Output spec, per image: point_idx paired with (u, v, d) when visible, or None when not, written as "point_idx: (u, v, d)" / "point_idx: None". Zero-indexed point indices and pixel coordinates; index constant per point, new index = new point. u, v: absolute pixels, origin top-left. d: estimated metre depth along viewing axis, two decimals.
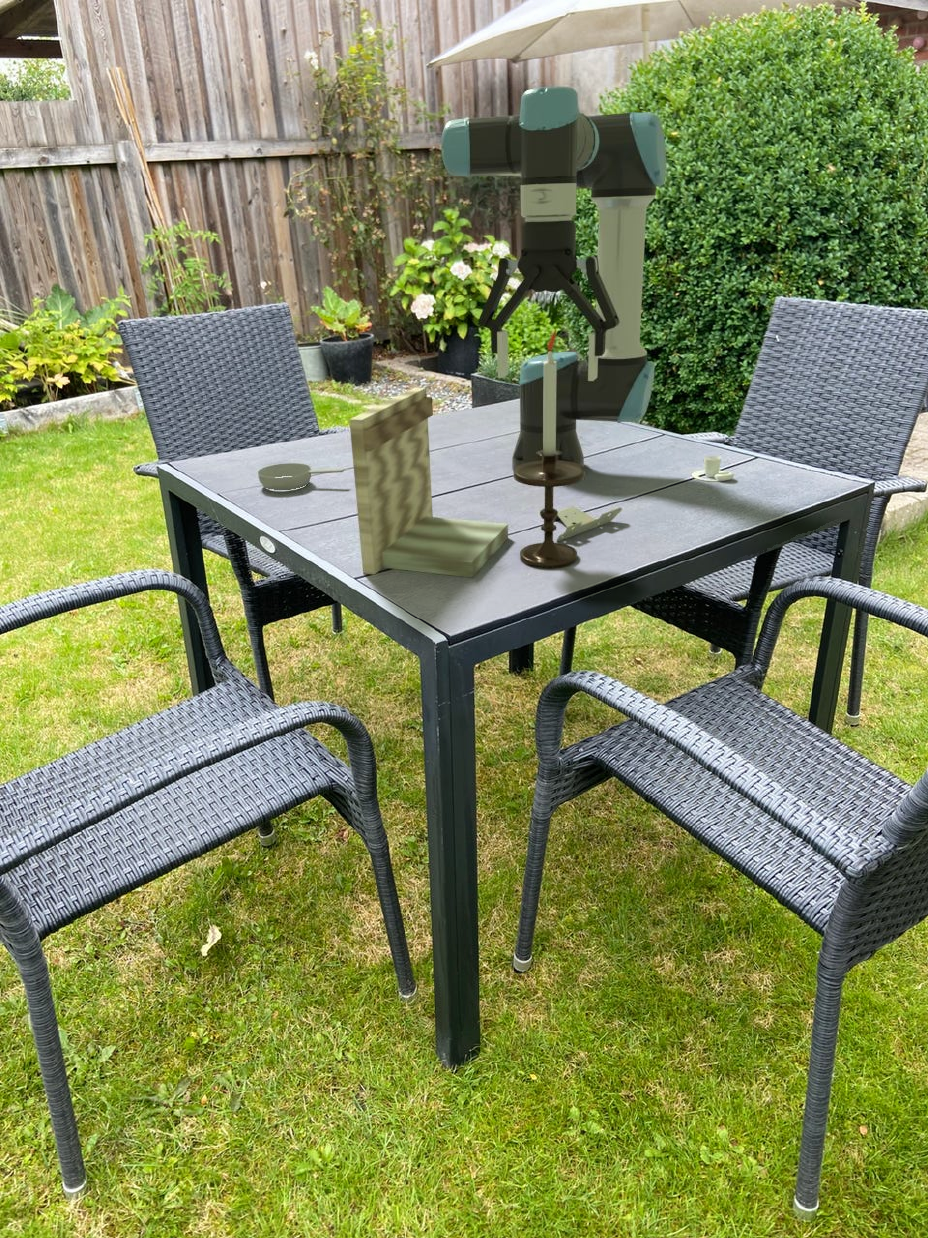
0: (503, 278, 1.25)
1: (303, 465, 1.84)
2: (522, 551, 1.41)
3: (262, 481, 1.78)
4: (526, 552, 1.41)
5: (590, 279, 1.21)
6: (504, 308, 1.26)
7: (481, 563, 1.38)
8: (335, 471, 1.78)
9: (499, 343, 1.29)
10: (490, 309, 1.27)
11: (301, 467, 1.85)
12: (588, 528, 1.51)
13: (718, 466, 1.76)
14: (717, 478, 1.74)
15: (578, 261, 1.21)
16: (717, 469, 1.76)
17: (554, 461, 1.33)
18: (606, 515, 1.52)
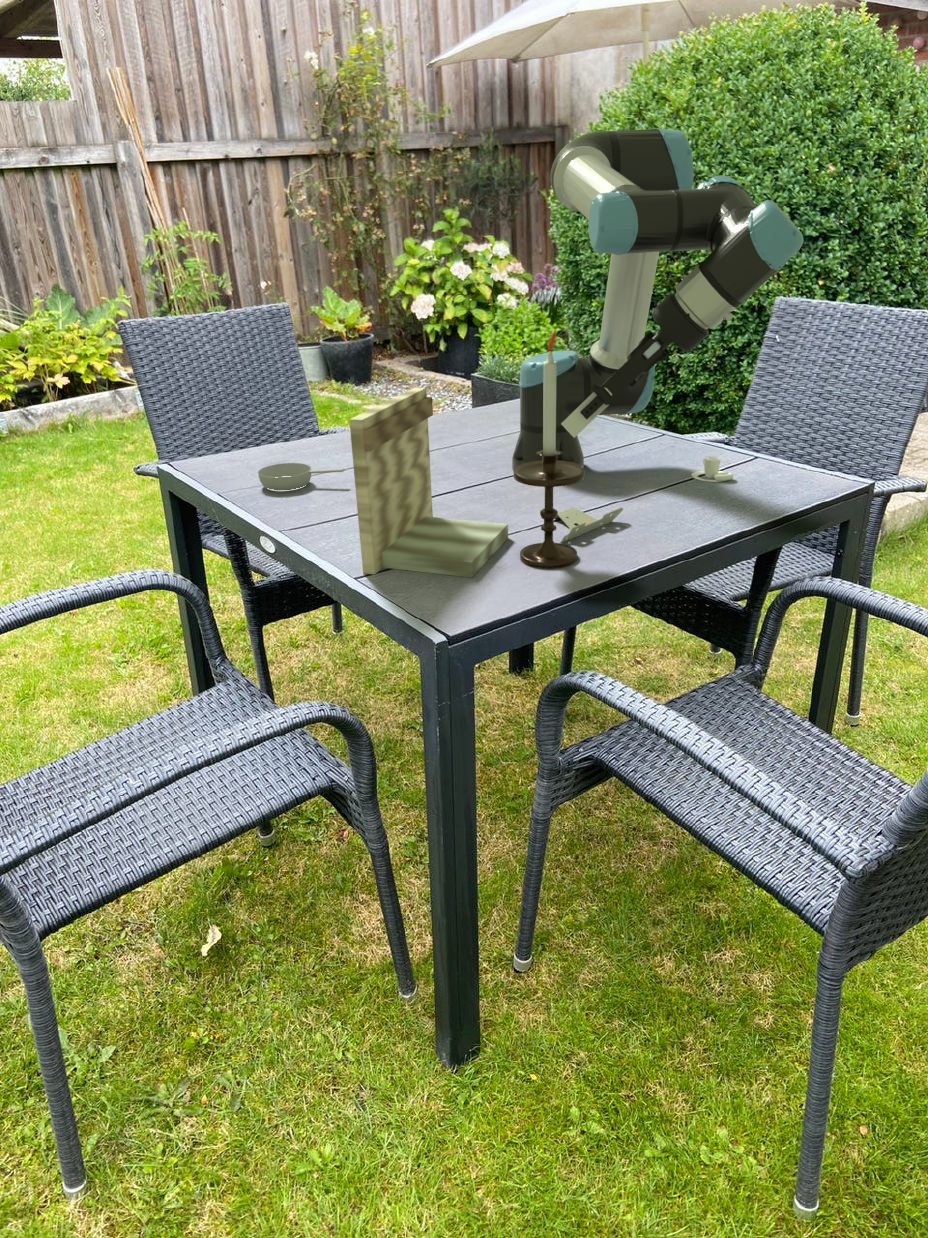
0: None
1: (303, 465, 1.84)
2: (522, 551, 1.41)
3: (262, 481, 1.78)
4: (526, 552, 1.41)
5: None
6: None
7: (481, 563, 1.38)
8: (335, 471, 1.78)
9: (600, 413, 1.20)
10: None
11: (301, 466, 1.85)
12: (591, 529, 1.51)
13: (718, 466, 1.76)
14: (717, 478, 1.74)
15: None
16: (717, 469, 1.76)
17: (554, 461, 1.33)
18: (608, 515, 1.52)
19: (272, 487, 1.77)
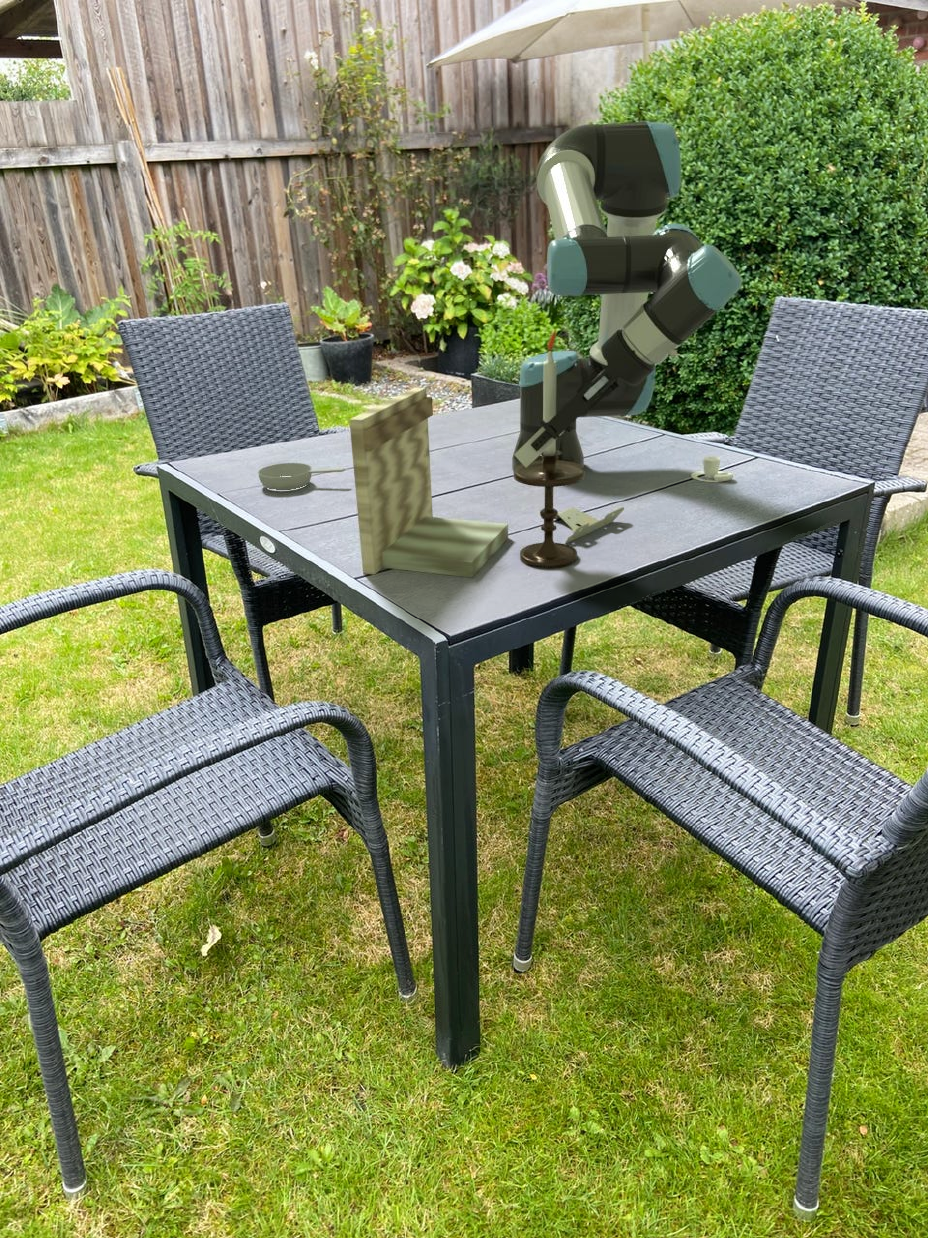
0: None
1: (303, 465, 1.84)
2: (522, 551, 1.41)
3: (263, 481, 1.78)
4: (526, 552, 1.41)
5: (605, 391, 1.32)
6: None
7: (481, 563, 1.38)
8: (336, 471, 1.78)
9: None
10: None
11: (301, 466, 1.85)
12: (593, 529, 1.51)
13: (717, 467, 1.76)
14: (716, 479, 1.74)
15: None
16: (716, 470, 1.76)
17: (554, 461, 1.33)
18: (610, 515, 1.52)
19: (272, 487, 1.77)
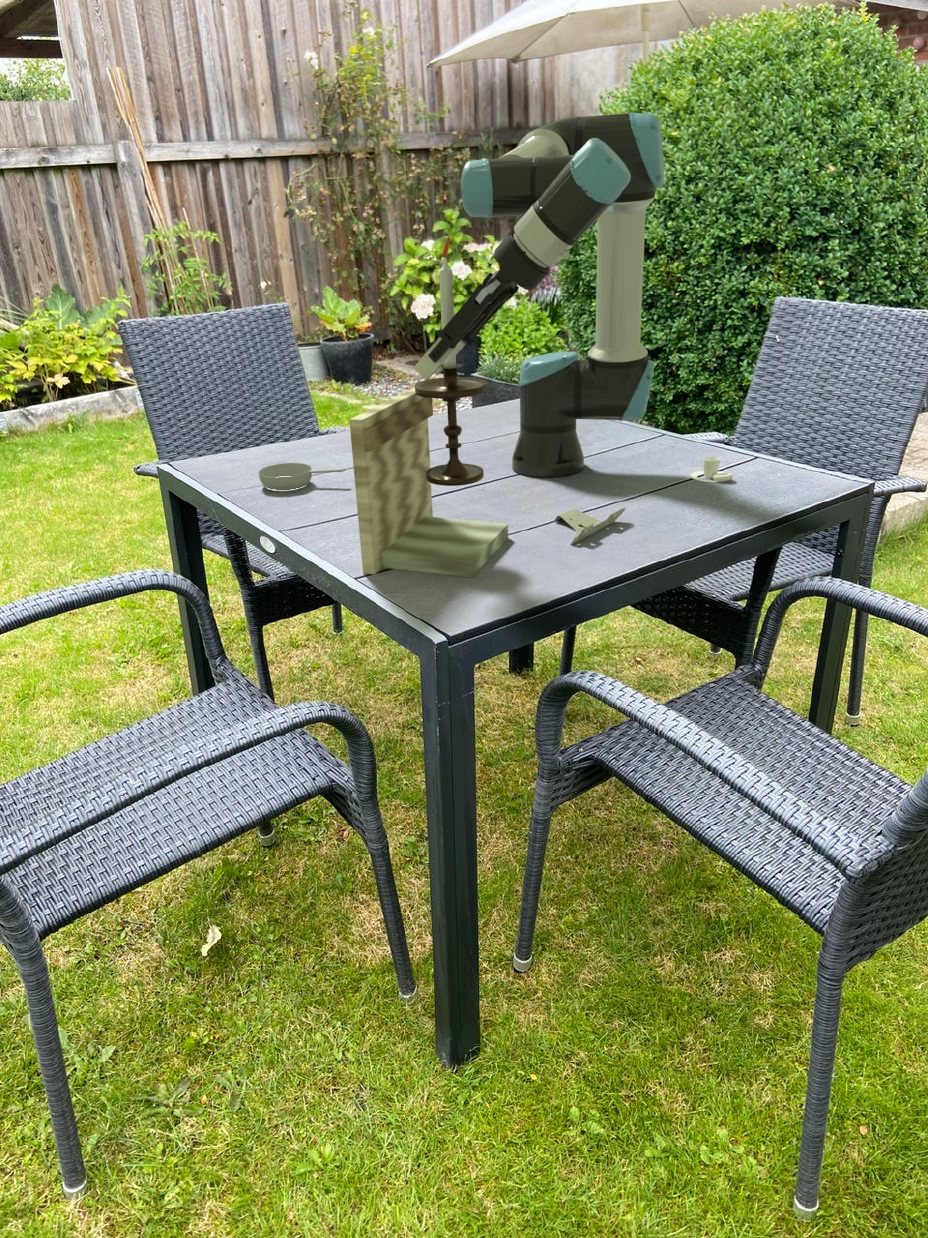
0: (484, 308, 1.21)
1: (303, 465, 1.84)
2: (428, 471, 1.39)
3: (263, 481, 1.78)
4: (432, 472, 1.39)
5: None
6: (468, 330, 1.25)
7: (481, 563, 1.38)
8: (336, 470, 1.78)
9: (447, 357, 1.28)
10: (463, 333, 1.24)
11: (301, 466, 1.85)
12: (597, 529, 1.51)
13: (717, 467, 1.75)
14: (716, 479, 1.74)
15: None
16: (716, 470, 1.76)
17: (455, 374, 1.31)
18: (613, 516, 1.52)
19: (273, 487, 1.77)
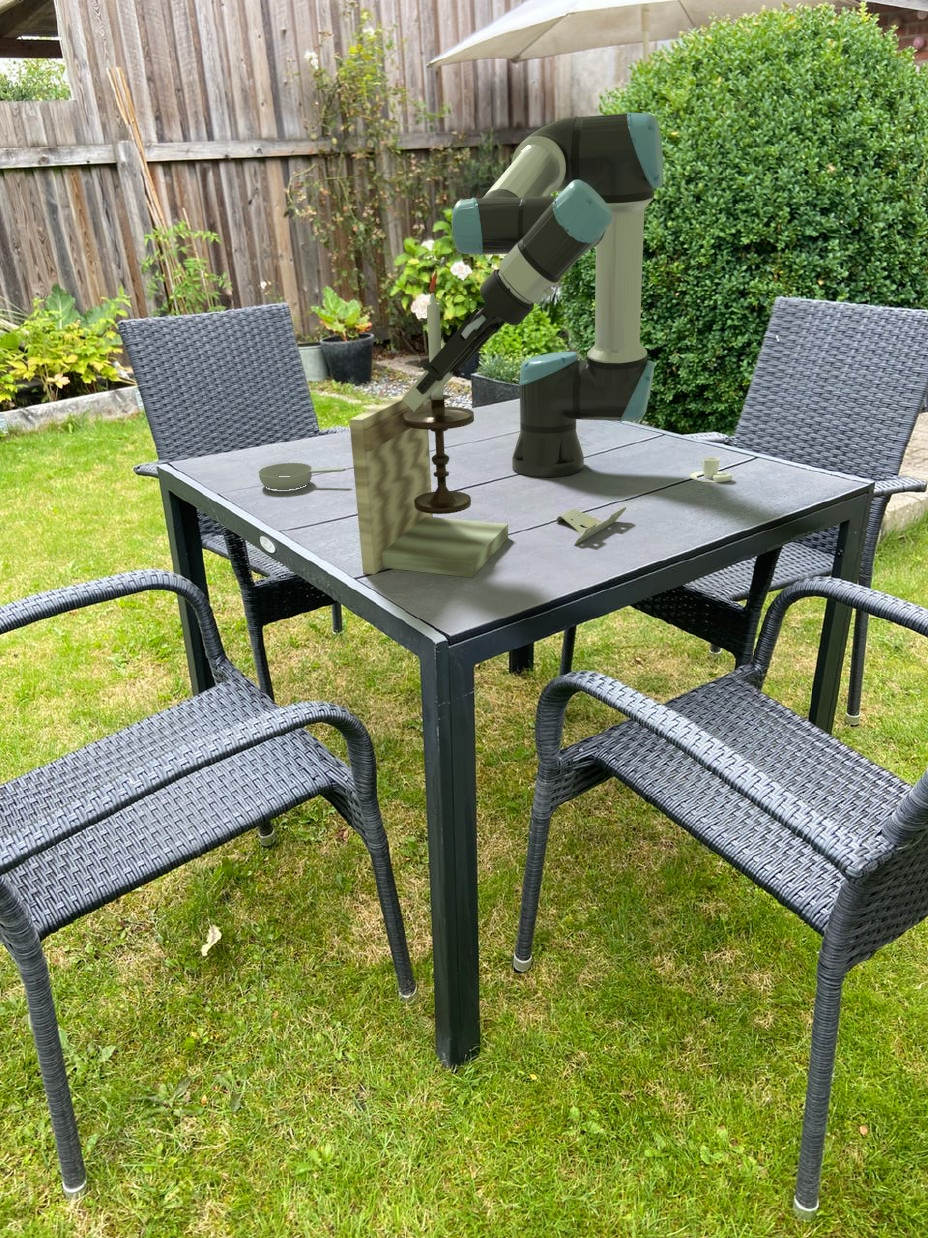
0: (470, 343, 1.23)
1: (303, 465, 1.84)
2: (417, 498, 1.42)
3: (263, 481, 1.78)
4: (420, 499, 1.41)
5: None
6: (455, 363, 1.27)
7: (481, 563, 1.38)
8: (336, 470, 1.79)
9: None
10: (450, 366, 1.26)
11: (301, 466, 1.85)
12: (599, 529, 1.51)
13: (716, 467, 1.75)
14: (715, 479, 1.74)
15: None
16: (715, 470, 1.76)
17: (442, 405, 1.33)
18: (614, 515, 1.52)
19: (273, 487, 1.77)
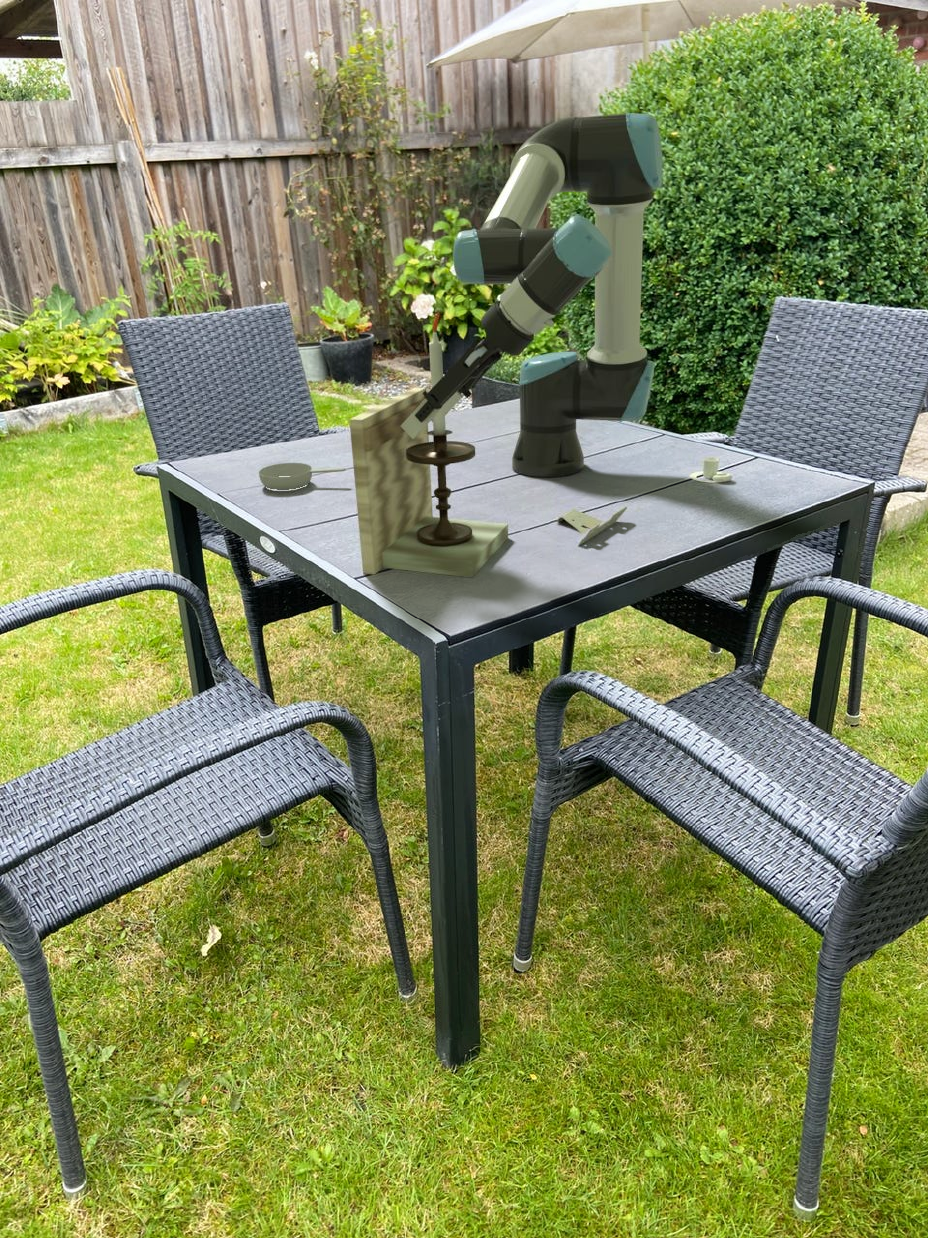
0: (472, 372, 1.25)
1: (303, 464, 1.84)
2: (419, 530, 1.44)
3: (263, 481, 1.78)
4: (423, 531, 1.44)
5: None
6: (455, 391, 1.28)
7: (481, 563, 1.38)
8: (336, 470, 1.79)
9: (433, 416, 1.31)
10: (449, 395, 1.26)
11: (301, 466, 1.85)
12: (601, 530, 1.51)
13: (716, 467, 1.75)
14: (715, 479, 1.74)
15: None
16: (715, 470, 1.75)
17: (444, 440, 1.36)
18: (616, 515, 1.52)
19: (273, 487, 1.77)
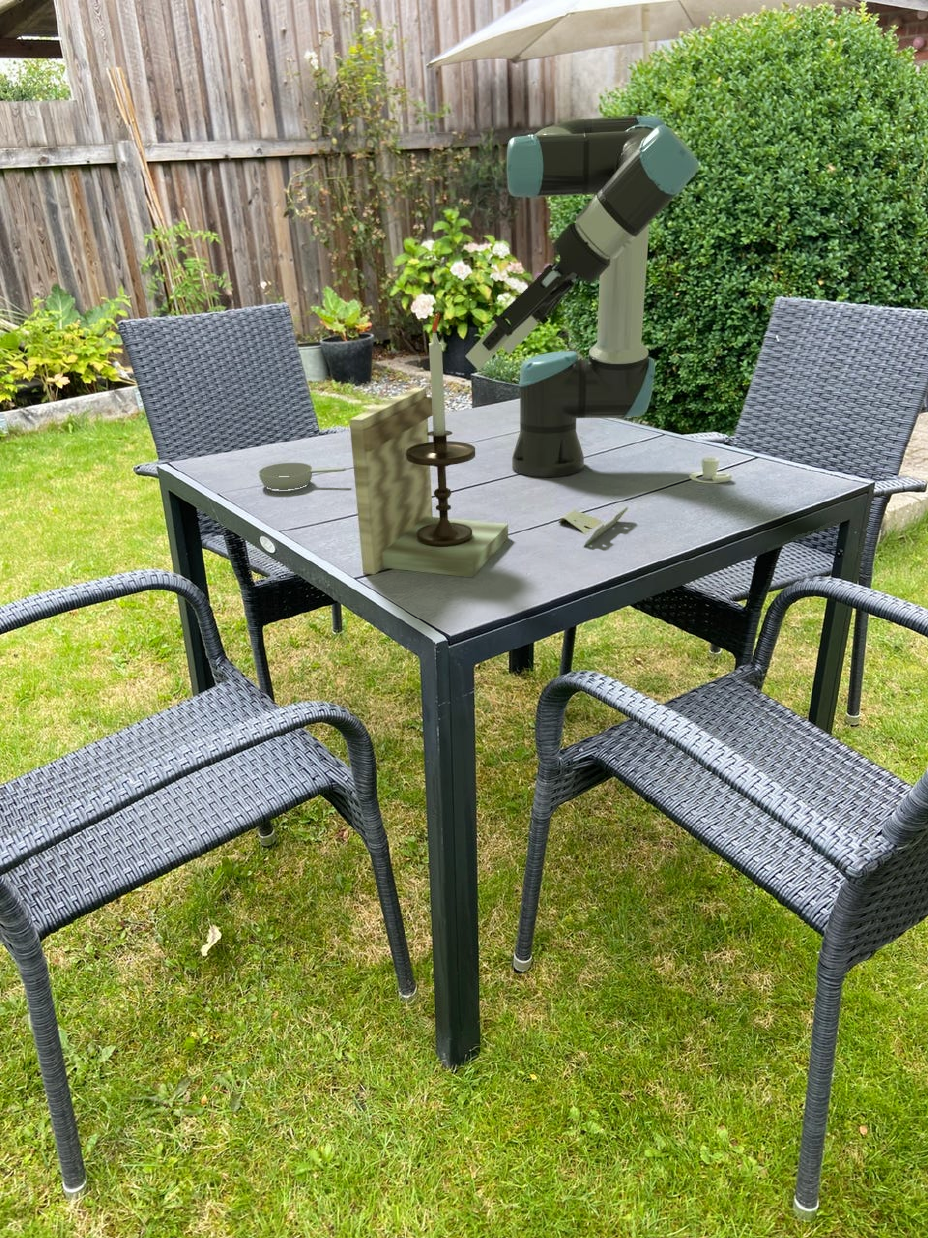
0: (548, 295, 1.16)
1: (303, 464, 1.85)
2: (419, 531, 1.44)
3: (264, 481, 1.78)
4: (423, 531, 1.44)
5: None
6: (527, 317, 1.18)
7: (481, 563, 1.38)
8: (337, 470, 1.79)
9: (502, 345, 1.20)
10: (522, 320, 1.16)
11: (301, 466, 1.85)
12: (604, 530, 1.50)
13: (716, 468, 1.75)
14: (715, 480, 1.73)
15: None
16: (715, 471, 1.75)
17: (444, 441, 1.36)
18: (618, 515, 1.52)
19: (274, 487, 1.77)
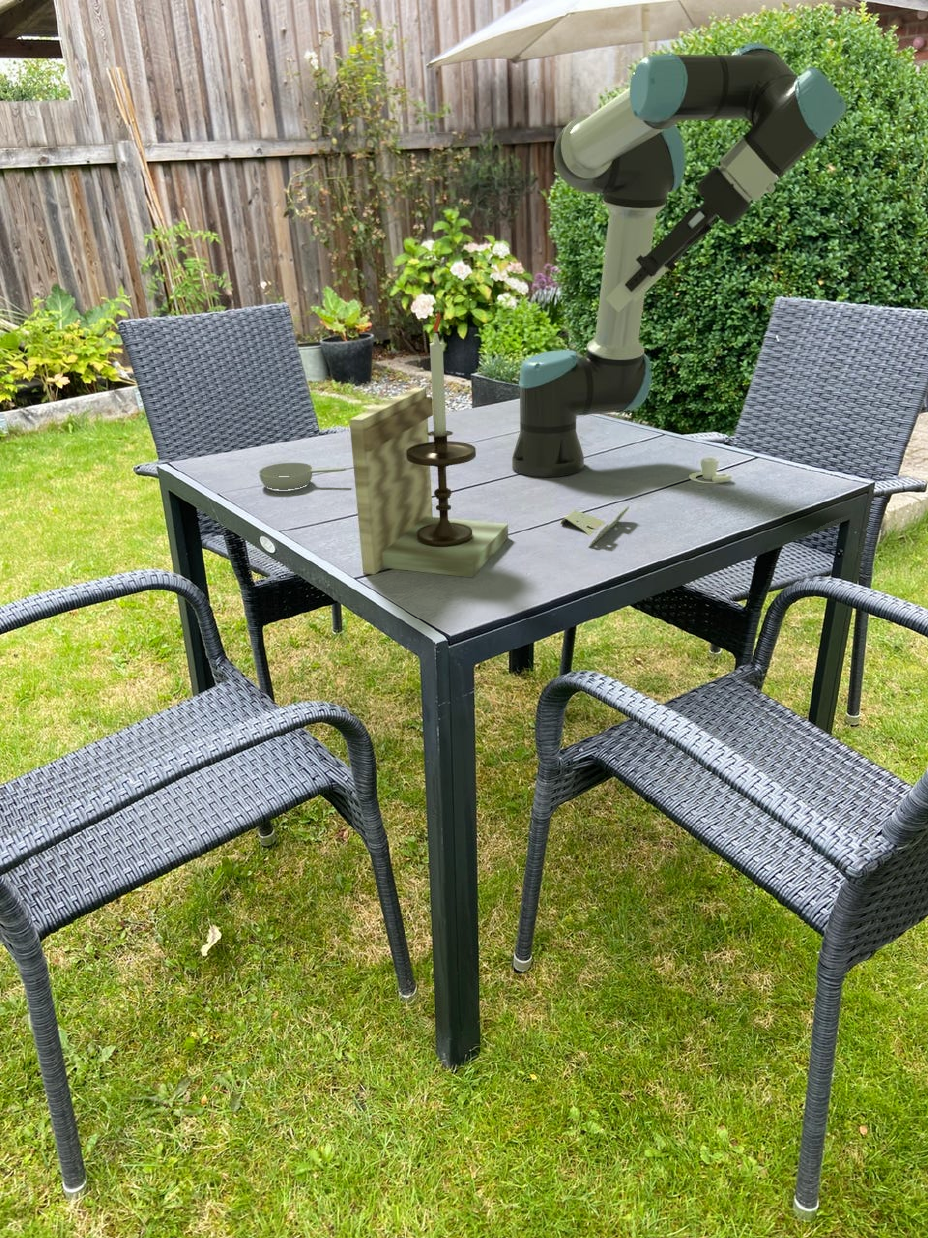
0: (693, 235, 1.20)
1: (303, 464, 1.85)
2: (419, 530, 1.44)
3: (264, 481, 1.78)
4: (423, 531, 1.44)
5: None
6: (670, 258, 1.22)
7: (481, 563, 1.38)
8: (337, 470, 1.79)
9: (644, 286, 1.24)
10: (667, 260, 1.20)
11: (301, 466, 1.85)
12: (607, 530, 1.50)
13: (715, 468, 1.75)
14: (714, 480, 1.73)
15: None
16: (714, 471, 1.75)
17: (445, 441, 1.36)
18: (620, 515, 1.52)
19: (274, 487, 1.77)
